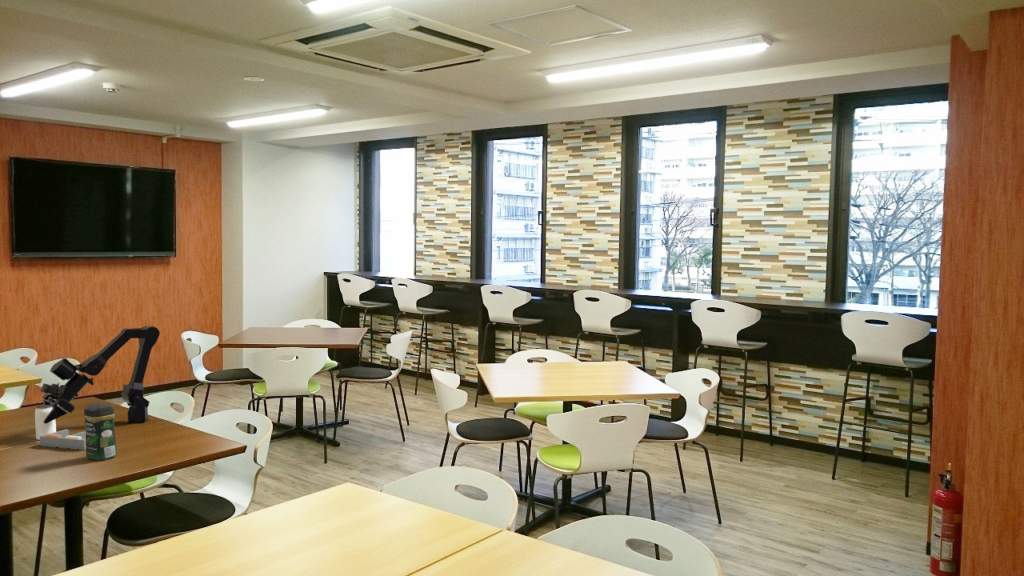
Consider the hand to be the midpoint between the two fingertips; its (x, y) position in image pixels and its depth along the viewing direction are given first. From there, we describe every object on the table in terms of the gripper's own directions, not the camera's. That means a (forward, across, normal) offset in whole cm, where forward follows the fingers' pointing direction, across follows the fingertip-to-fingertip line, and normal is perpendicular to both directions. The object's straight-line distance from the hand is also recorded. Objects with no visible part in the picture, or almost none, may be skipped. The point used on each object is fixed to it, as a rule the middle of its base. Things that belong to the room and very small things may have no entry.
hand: (41, 421), depth 277 cm
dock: (+1, +18, +8) cm, 20 cm away
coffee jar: (+1, +44, +8) cm, 45 cm away
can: (+4, 0, +6) cm, 7 cm away
